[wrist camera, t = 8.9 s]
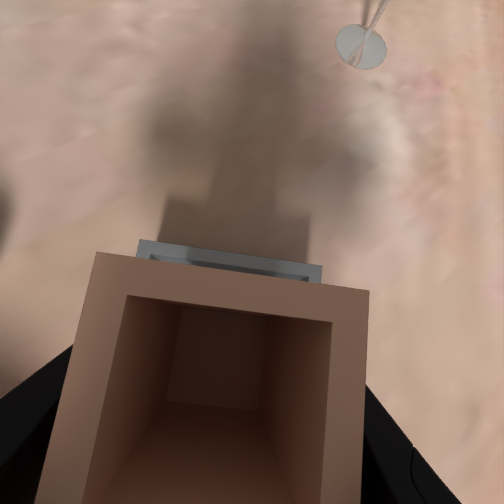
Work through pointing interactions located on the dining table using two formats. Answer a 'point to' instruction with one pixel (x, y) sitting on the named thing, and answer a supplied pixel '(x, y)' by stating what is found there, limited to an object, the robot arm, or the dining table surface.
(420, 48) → the dining table surface
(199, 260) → the grey square tray
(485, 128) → the dining table surface
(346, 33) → the wineglass
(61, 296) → the dining table surface
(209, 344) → the terracotta bin
